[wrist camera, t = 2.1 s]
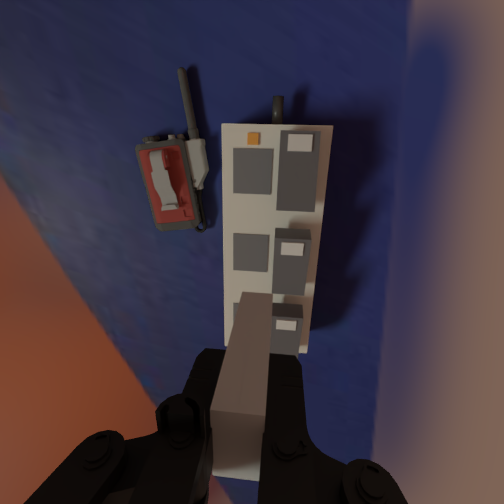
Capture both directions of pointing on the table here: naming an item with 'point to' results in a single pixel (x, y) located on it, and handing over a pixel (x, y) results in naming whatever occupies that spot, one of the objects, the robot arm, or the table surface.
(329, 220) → the table surface
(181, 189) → the walkie-talkie
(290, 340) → the rocker
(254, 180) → the power strip
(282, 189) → the block
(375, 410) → the table surface
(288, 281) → the rocker
